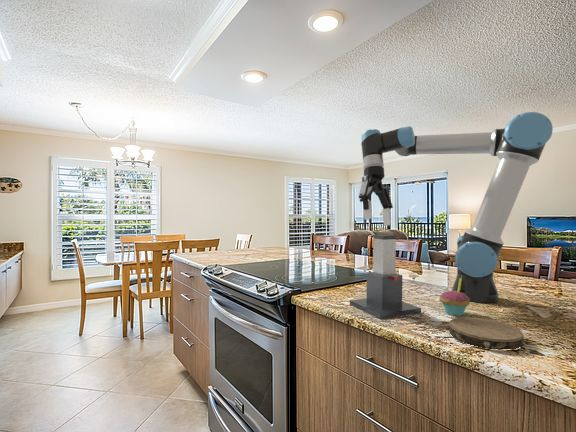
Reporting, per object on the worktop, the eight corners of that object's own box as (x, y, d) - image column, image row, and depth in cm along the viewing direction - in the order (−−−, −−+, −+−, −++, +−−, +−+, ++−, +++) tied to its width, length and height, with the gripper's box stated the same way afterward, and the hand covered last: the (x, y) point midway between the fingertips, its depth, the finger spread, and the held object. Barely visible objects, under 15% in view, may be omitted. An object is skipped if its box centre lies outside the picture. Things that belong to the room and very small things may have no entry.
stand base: (387, 300, 116) (387, 268, 116) (421, 312, 101) (421, 276, 101) (349, 304, 110) (349, 271, 110) (380, 318, 95) (380, 280, 95)
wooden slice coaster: (533, 342, 79) (534, 330, 79) (506, 359, 70) (506, 345, 70) (467, 324, 92) (467, 313, 92) (437, 336, 83) (437, 324, 83)
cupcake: (462, 310, 104) (463, 273, 104) (475, 318, 96) (475, 278, 96) (435, 309, 105) (435, 272, 105) (445, 317, 97) (445, 278, 97)
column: (385, 299, 109) (385, 234, 109) (395, 303, 104) (395, 235, 104) (372, 301, 107) (373, 234, 107) (382, 305, 102) (383, 235, 102)
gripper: (381, 179, 134) (386, 229, 128) (346, 162, 117) (350, 218, 112) (398, 174, 129) (403, 225, 123) (364, 155, 112) (368, 213, 106)
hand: (378, 222), depth 117 cm, fingers open, 13 cm apart
